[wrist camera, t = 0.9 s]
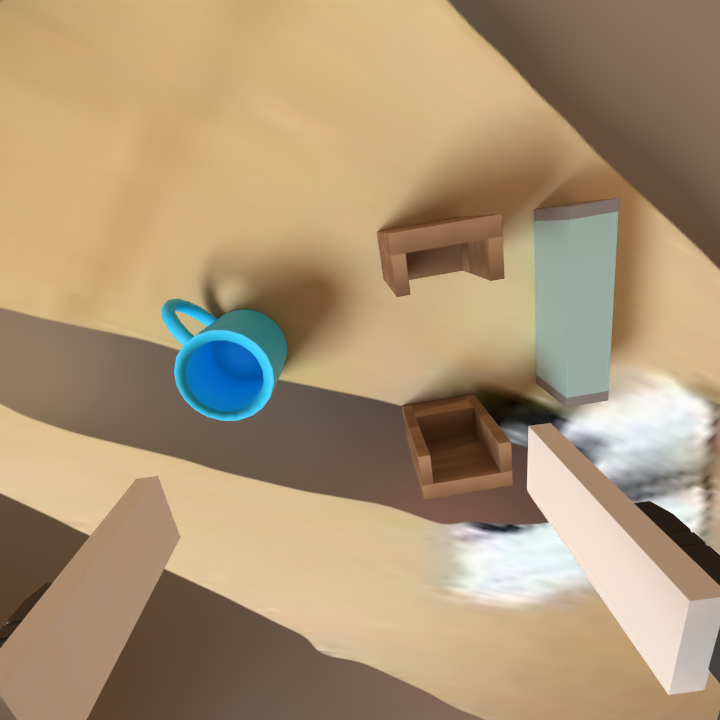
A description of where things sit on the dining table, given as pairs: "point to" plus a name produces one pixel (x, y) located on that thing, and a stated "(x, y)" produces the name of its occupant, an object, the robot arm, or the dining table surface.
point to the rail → (575, 298)
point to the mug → (226, 360)
